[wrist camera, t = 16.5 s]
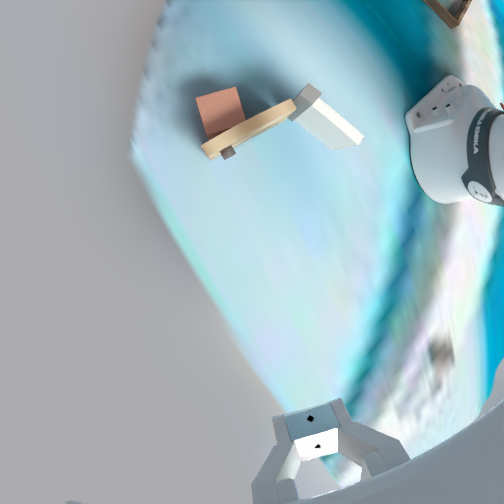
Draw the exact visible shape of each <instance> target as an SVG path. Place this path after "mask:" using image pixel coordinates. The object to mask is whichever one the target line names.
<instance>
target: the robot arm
mask: <svg viewBox="0 0 504 504" xmlns="http://www.w3.org/2000/svg"><path fill="white" fill-rule="evenodd" d="M500 105H501V107H502V108H503V110H504V105H503V104H502V103H500ZM417 114H418V117H417ZM405 119H406V124H407V127H408V130H409V133H410V138H411V161H412V166H413V170H414V173H415V176H416V178H417V180H418V182H419V184H420V186H421V187H422V189H423V190H424V192H425V193H426V194H427V195H428V196H429V197H430V198H432V199H433V200H435V201H437V202H439V203H444V204H448V203H453V202H458V201H468V200H479V201H482V202H485V203H488V204H492V205H497V206H502V207H504V111H501V110H498V109H496V108H495V106H494V105H493V103H492V102H491V101H490V99H489V98H488V97H487V96H486V94H485V93H484V92H483V91H482V90H480V89H479V88H477V87H476V86H473V85H465V84H464V83H463V82H462V81H461V80H459V79H458V78H456V77H454V76H452V75H449V76H446V77H445V78H444V79H443V80H442V81H441V82H439V83H438V84H437V85H436V86H435V87H434V88H433V89H432V90H431V91H430V92H429V93H428V94H427V95H425V96H424V97H423V98H422V99H421V100H420V101H419V102H418V103H417V104H416V105H415V106H414V107H413V108H412V109H410V110H409V111H408V112H407V113H406V116H405ZM284 416H285V417H284ZM272 420H273V425H274V430H275V435H276V440H277V445H275V446H274V447H273V449H272V451H271V452H270V454H269V456H268V458H267V460H266V461H265V463H264V464H263V466H262V468H261V470H260V471H259V473H258V475H257V476H256V478H255V479H254V481H253V483H252V484H251V486H252V495H253V504H504V399H503V400H502V401H501V402H500V403H498V404H497V405H496V406H495V407H493V408H492V409H491V410H489V411H488V412H487V413H486V414H484V415H483V416H481V417H480V418H479V419H477V420H476V421H474V422H473V423H472V424H470V425H469V426H467V427H466V428H464V429H463V430H461V431H460V432H458V433H457V434H455V435H453V436H452V437H450V438H449V439H447V440H445V441H444V442H442V443H440V444H439V445H437V446H435V447H433V448H432V449H430V450H428V451H426V452H424V453H423V454H421V455H419V456H417V457H415V458H413V459H410V458H409V456H408V454H407V453H406V451H405V450H404V448H403V446H402V445H401V443H400V441H399V440H397V439H395V438H392V437H390V436H388V435H385V434H383V433H381V432H378V431H376V430H374V429H372V428H369V427H367V426H365V425H363V424H361V423H358V422H354V423H353V421H352V419H351V417H350V415H349V413H348V411H347V409H346V407H345V405H344V403H343V401H342V399H341V398H338V399H335V400H332V401H329V402H326V403H323V404H319V405H316V406H313V407H310V408H306V409H303V410H299V411H295V412H291V413H287V414H283V415H279V416H274V417H272ZM338 451H339V453H341V454H342V455H344V456H345V457H347V458H348V459H350V460H351V461H353V462H354V463H356V464H358V465H359V466H361V467H362V474H361V481H360V482H358V483H355V484H352V485H349V486H346V487H343V488H340V489H337V490H334V491H331V492H327V493H324V494H320V495H317V496H313V497H310V498H306V499H302V500H300V498H299V495H298V492H297V489H296V485H295V482H294V478H295V476H296V473H297V471H298V469H299V466H300V463H301V462H304V461H308V460H311V459H315V458H318V457H321V456H325V455H328V454H332V453H335V452H338ZM63 504H87V503H82V502H78V501H67V502H65V503H63Z"/></svg>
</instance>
